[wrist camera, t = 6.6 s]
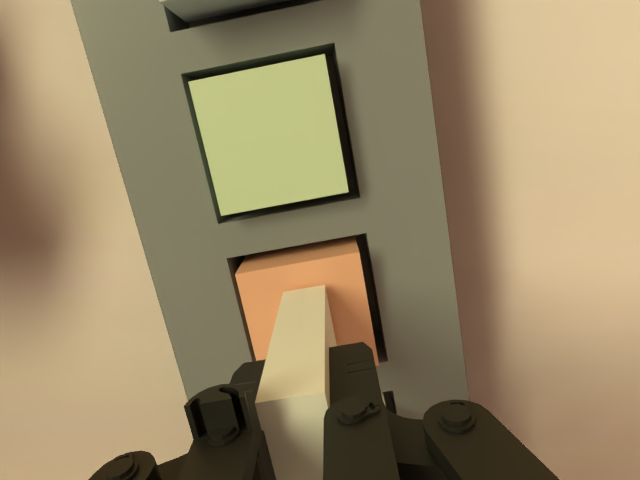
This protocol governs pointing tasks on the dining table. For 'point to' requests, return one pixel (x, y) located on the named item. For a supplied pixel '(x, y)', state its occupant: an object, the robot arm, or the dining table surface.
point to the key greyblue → (211, 7)
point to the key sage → (270, 135)
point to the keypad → (293, 218)
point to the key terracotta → (303, 272)
